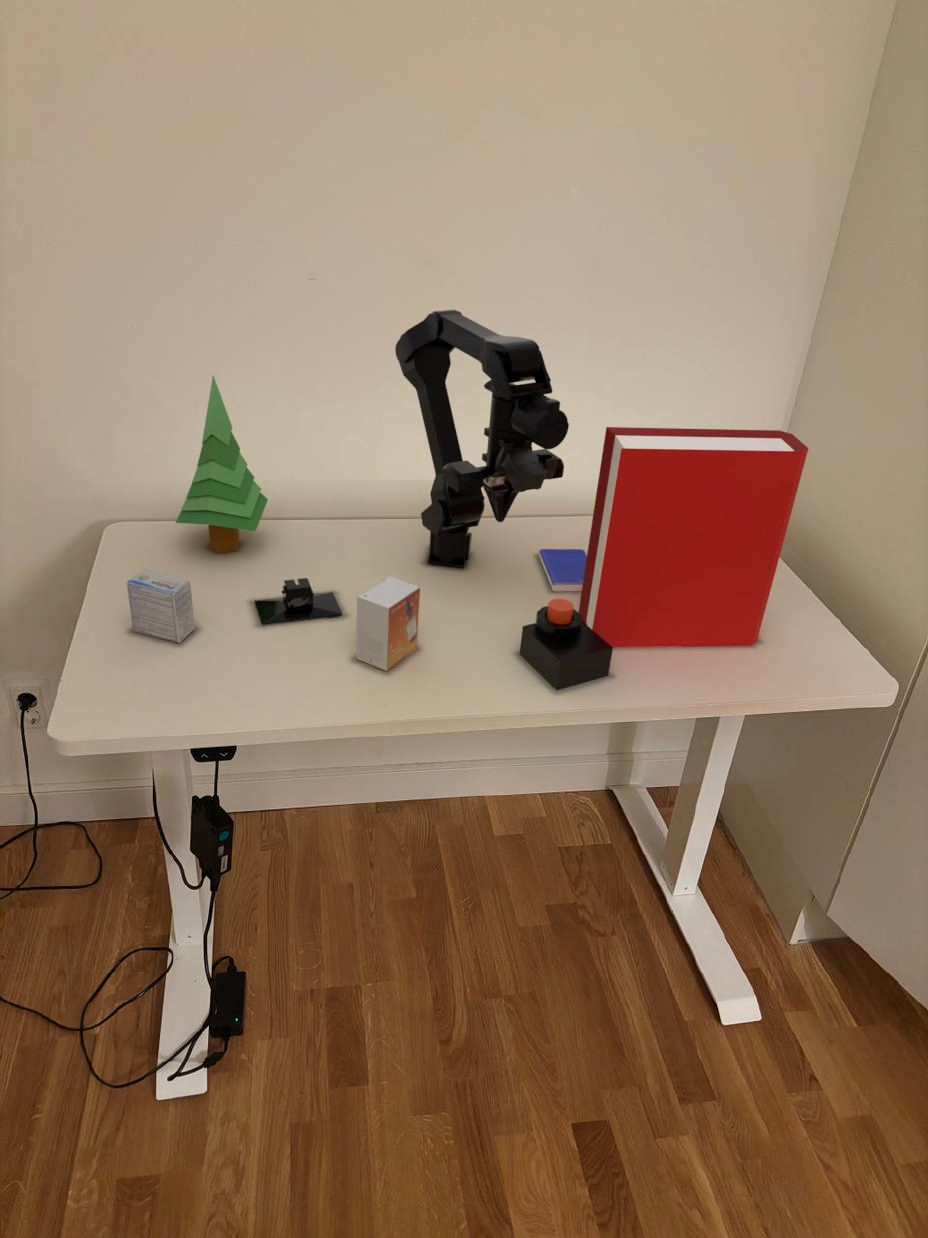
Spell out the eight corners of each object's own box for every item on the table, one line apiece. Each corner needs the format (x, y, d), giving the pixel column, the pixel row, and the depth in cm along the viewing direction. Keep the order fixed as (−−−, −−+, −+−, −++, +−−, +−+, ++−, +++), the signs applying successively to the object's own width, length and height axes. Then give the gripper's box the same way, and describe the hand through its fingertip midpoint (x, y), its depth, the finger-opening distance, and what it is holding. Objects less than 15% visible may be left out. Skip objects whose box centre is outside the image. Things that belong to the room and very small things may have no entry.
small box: (386, 672, 137) (388, 609, 131) (354, 659, 139) (355, 596, 134) (418, 648, 143) (421, 586, 137) (387, 635, 145) (389, 574, 140)
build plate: (332, 594, 155) (332, 568, 152) (343, 617, 149) (343, 591, 147) (254, 602, 151) (253, 576, 148) (261, 626, 145) (261, 599, 143)
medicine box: (196, 630, 143) (191, 578, 139) (179, 644, 139) (173, 592, 135) (150, 618, 145) (144, 567, 140) (132, 632, 141) (125, 580, 137)
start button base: (516, 652, 144) (521, 611, 140) (566, 639, 148) (572, 599, 144) (556, 690, 136) (562, 649, 132) (608, 676, 140) (615, 635, 136)
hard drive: (601, 583, 161) (584, 548, 171) (553, 583, 159) (539, 548, 170) (600, 591, 161) (583, 556, 172) (552, 591, 160) (538, 556, 171)
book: (589, 647, 146) (621, 448, 130) (577, 620, 153) (606, 427, 136) (759, 645, 150) (812, 451, 133) (740, 618, 157) (788, 430, 140)
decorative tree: (223, 520, 175) (211, 355, 159) (285, 547, 167) (280, 377, 152) (162, 545, 165) (144, 372, 149) (226, 575, 158) (214, 396, 142)
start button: (542, 615, 140) (543, 601, 139) (562, 610, 142) (564, 596, 141) (555, 627, 138) (557, 613, 137) (576, 622, 139) (578, 608, 138)
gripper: (481, 453, 134) (472, 553, 142) (590, 437, 142) (577, 532, 150) (443, 426, 142) (437, 522, 150) (549, 412, 150) (538, 504, 158)
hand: (499, 520), depth 152 cm, fingers closed
